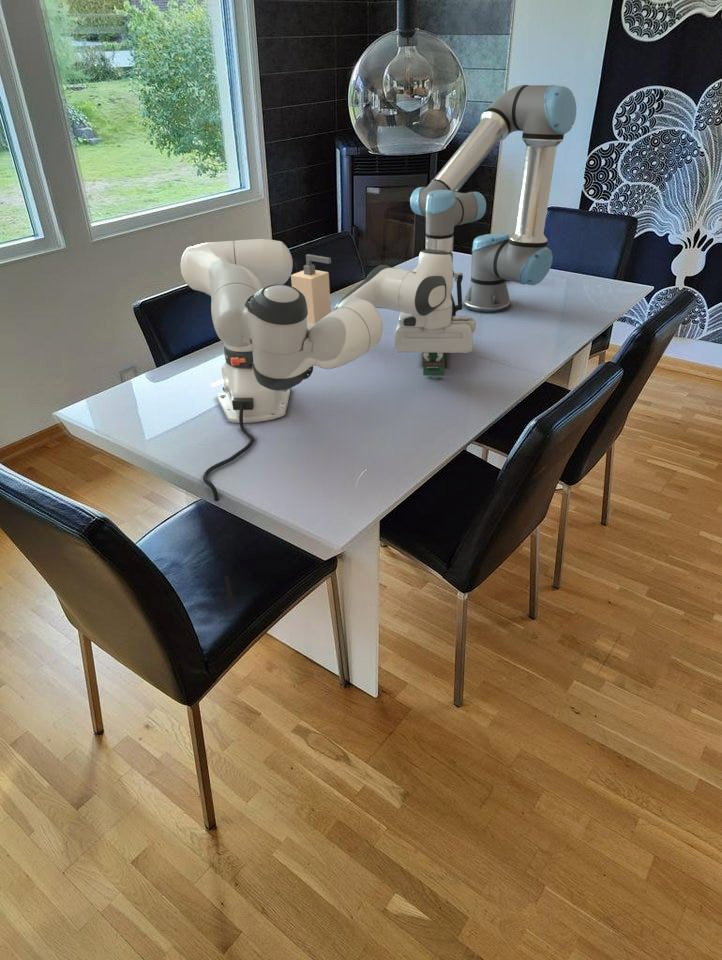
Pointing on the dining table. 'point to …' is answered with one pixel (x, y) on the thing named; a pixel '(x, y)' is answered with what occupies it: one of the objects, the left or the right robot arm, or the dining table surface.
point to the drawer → (433, 365)
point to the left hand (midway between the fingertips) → (432, 367)
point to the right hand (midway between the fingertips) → (436, 332)
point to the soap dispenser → (314, 288)
